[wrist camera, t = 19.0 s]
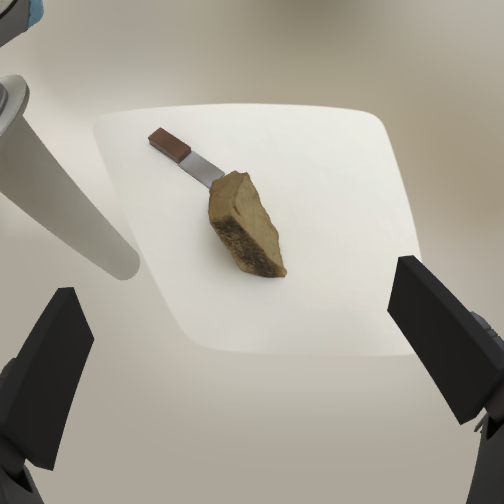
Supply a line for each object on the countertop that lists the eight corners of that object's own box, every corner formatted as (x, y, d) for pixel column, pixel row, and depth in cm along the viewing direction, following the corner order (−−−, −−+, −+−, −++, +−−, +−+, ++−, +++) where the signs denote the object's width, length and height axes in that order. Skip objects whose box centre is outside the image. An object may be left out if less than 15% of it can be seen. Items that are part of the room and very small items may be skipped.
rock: (194, 161, 31) (165, 247, 27) (247, 117, 25) (222, 213, 21) (271, 210, 37) (258, 290, 32) (329, 182, 31) (325, 273, 26)
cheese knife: (148, 144, 34) (146, 138, 33) (163, 132, 35) (161, 125, 34) (210, 189, 33) (209, 183, 32) (225, 174, 33) (224, 168, 32)
